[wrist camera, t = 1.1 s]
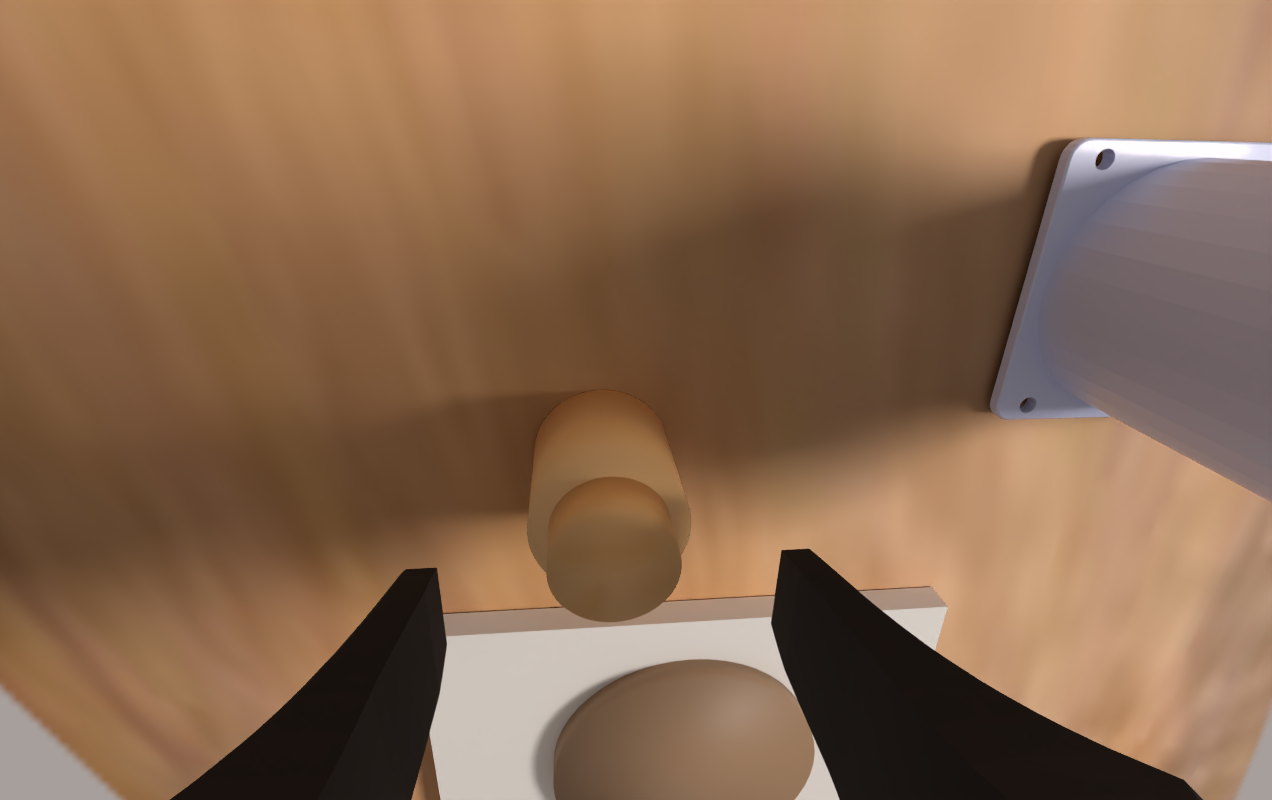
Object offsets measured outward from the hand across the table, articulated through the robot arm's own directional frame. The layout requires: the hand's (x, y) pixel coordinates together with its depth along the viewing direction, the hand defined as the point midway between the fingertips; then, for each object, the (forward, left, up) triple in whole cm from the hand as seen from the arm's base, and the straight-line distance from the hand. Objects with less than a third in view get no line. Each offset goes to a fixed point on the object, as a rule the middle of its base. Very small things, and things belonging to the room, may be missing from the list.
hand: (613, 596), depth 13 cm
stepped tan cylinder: (0, 0, -6) cm, 6 cm away
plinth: (-3, +12, -6) cm, 14 cm away
